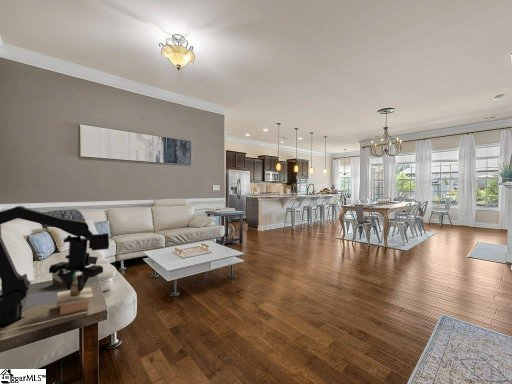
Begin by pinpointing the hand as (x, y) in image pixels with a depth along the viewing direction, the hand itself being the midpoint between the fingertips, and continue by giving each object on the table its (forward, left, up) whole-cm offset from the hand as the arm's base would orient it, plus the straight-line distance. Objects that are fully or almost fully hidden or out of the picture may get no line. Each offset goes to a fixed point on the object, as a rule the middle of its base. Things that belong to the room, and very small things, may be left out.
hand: (75, 290), depth 91 cm
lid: (0, 0, -3) cm, 3 cm away
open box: (0, 0, -7) cm, 7 cm away
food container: (+18, +21, -7) cm, 29 cm away
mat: (+4, +16, -7) cm, 18 cm away
